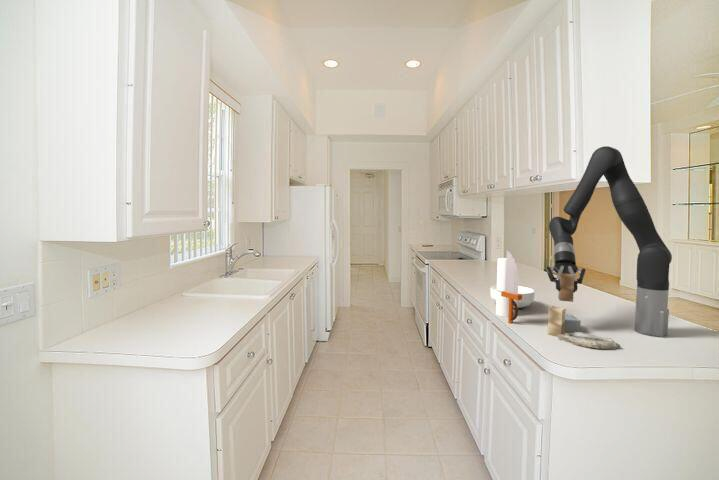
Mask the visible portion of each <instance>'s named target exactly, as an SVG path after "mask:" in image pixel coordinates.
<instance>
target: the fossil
mask: <svg viewBox="0 0 719 480" xmlns="http://www.w3.org/2000/svg"><path fill="white" fill-rule="evenodd" d="M557 336H558V337H557V338H558V340H560V341H562V342H565V343H569V344H572V345H576V346H580V347H584V348H590V349H591V348H592V349H596V350H599V349H602V350H617V349H619V348H620V347H621V345H620V344H619V343H618V342H615V340H614V339H613V338H611V337H601V336H596V335H590V334H589V333H585V332H581V331H580V332H574V333H568V332H564V334H558V335H557Z"/></svg>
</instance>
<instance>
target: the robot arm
mask: <svg viewBox="0 0 719 480" xmlns="http://www.w3.org/2000/svg"><path fill="white" fill-rule="evenodd" d="M602 177H604V178H605V180H606V183H607V184H608V187H609V190H610V191H609V192H610V198H611V202H612V204H613V207H614V209H615V212H616V213H617V215H618V217H619V219H620V221H621V222H622V223H623V225H624V226H625V227H626V229H627V230H628V231H629V233H630V234H631V235H632V237H633V238H634V241H635V242H636V245H637V248H638V251H639V252H638V254H637V259H636V283H637V285H636V294H635V295H636V296H635V311H634V326H633V327H634V328H633V329H634V331H635V332H636V333H640V334H642V335H648V336H653V337H661V338H664V337H665V336H667V335H668V331H669V330H668V329H669V317H670V309H669V308H668V304H669V291H670V282H669V281H670V280H669V277H670V264H671V263H672V260H673V255H672V252H671V251H670V250H669V248H668V247H667V245H666V244H665V241H663V239H662V237H661V236H660V235H659V233H658V231H657V229H656V226H655V224H654V221H653V219H652V216H651V213H650V211H649V209H648V206H647V205H646V202H645V201H644V200H645V199H643V197H642V195H641V193H640V191H639V190H638V187H637V186H636V184H635V183H634V181H633V180H632V178H631V176H630V175H629V172H628V170H627V167H626V164H625V161H624V158H623V155H622V153H621V152H620V150H619V149H617V148H615V147H611V146H601V147H598V148H596V149H595V150H594V151H593V152H592V154H591V156H590V159H589V161H588V164H587V166H586V169H585V171H584V172H583V175H582V176H581V179H580V180H579V182H578V184H577V186H576V188H575V190H574V191H573V192H572V194H571V196H570V198H569V199H568V201H567V202H566V203H565V205H564V207H563V211H564V213H565V214H566V215H568V216H569V219H567V218H565V217H562V216H554V217H552V218H551V219H550V220H549V223H548V230H549V232H550V235H551V238H552V240H553V249H554V250H553V259H554V260H553V261H554V262H553V263H554V265H553V267H551V266H546V269H545V270H546V273H547V276H548V279H549V281H550V282H551V283H552V282H553V283H554V284H555V290H556V291H557V292H559V291H560V281H559V280H560V274H562V273H564V274H573V275H574V293H576V292H577V291H578V284H579V285H581V284H582V283H583V280H584V277H585V274H586V268H578V266H577V261H576V251H575V250H576V249H575V247H574V240H573V239H574V238H573V235H574V234H575V232H577V228H578V225H579V221H580V218H581V216H582V214H583V212H584V210H586V207H587V206H588V204H589V202H590V201H591V199H592V197H593V195H594V192H595V189H596V187H597V185H598V183H599V181H600V180H601V179H602ZM553 271H554V272H555V273H556V274H557V275H556V277H555V276H554V274H553ZM576 273H578V275H579V277H578V278H577V277H576Z"/></svg>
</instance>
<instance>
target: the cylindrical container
mask: <svg viewBox="0 0 719 480" xmlns="http://www.w3.org/2000/svg"><path fill="white" fill-rule="evenodd" d="M513 259H514V261H515V262H516V259H515V258H513ZM496 265H497V270H496V285H497V293H496V302H495V315H496V316H498V317H506V318H508V315H509V298H507V297H503V296H501V292H502V291H505V276H506V257H499V258H497V264H496Z"/></svg>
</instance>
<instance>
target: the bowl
mask: <svg viewBox="0 0 719 480" xmlns="http://www.w3.org/2000/svg"><path fill="white" fill-rule="evenodd" d="M496 293H497V284H495V285H492V286H491V287H490V298H491V299H492V300H493V302H495V303H496ZM518 294H520V295H522V300H515V299H514V301H515V302H516V304H517V307H518V309H523V308H526V307H528V306H530V305H531V304H532V302H534V300H535V290H534V289H533V288H530V287H525V286H521V285H518ZM513 309H515V307H514V305H513Z"/></svg>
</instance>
